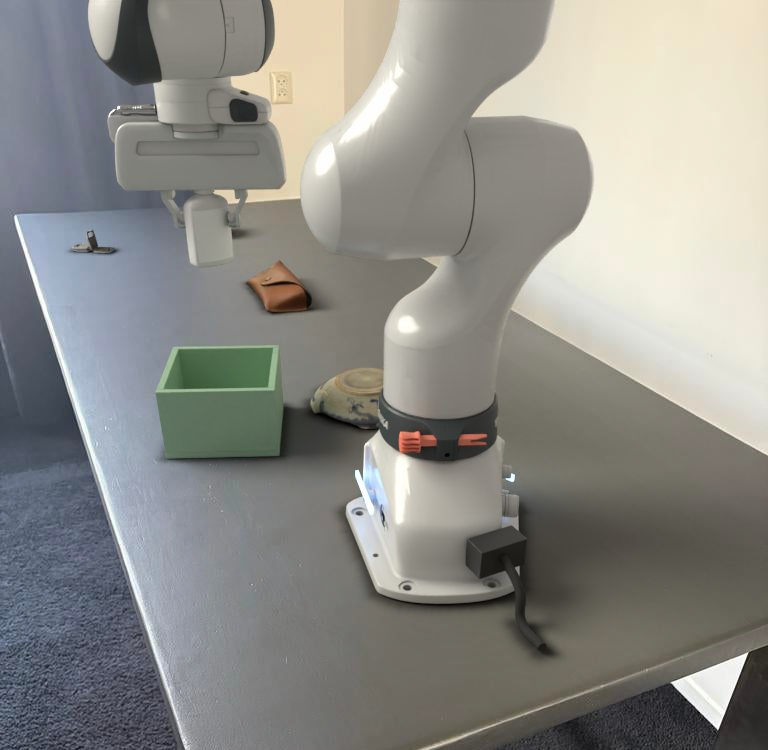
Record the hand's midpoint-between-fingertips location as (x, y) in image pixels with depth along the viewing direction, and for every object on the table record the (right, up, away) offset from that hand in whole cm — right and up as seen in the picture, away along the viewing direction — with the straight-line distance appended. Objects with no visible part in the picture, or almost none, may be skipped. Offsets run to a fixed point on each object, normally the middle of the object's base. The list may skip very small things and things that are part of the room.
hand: (208, 227), depth 100 cm
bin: (+2, -26, +2) cm, 26 cm away
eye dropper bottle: (0, -4, +3) cm, 5 cm away
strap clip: (-39, +19, +68) cm, 81 cm away
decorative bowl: (+20, -21, +9) cm, 30 cm away
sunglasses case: (+3, +3, +45) cm, 46 cm away
